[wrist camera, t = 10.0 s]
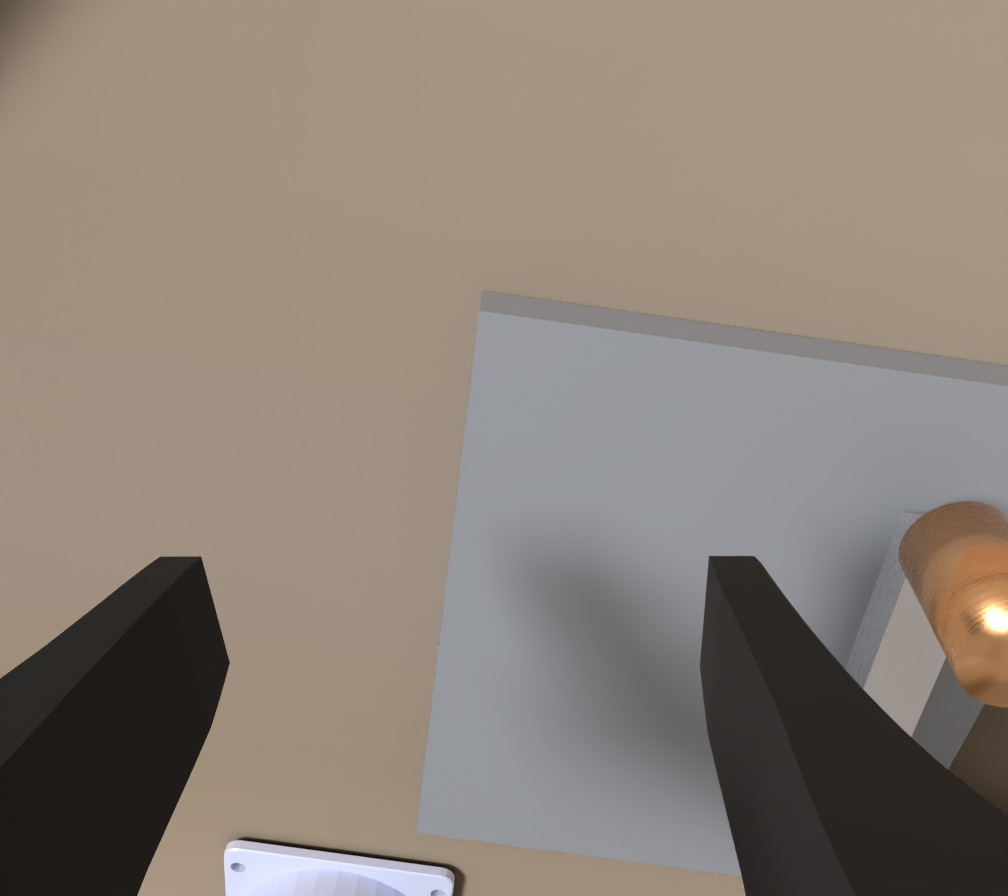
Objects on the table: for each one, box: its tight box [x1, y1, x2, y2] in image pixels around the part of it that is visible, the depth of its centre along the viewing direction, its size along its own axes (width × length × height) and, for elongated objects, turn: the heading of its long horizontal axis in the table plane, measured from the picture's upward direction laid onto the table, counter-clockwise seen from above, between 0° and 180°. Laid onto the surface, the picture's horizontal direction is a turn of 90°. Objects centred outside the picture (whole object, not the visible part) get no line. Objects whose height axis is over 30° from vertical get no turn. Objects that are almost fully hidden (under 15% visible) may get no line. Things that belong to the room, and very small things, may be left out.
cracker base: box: [416, 291, 1008, 877], centre depth 24 cm, size 18×20×4 cm
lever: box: [845, 501, 1008, 736], centre depth 22 cm, size 15×3×5 cm, turn 176°
